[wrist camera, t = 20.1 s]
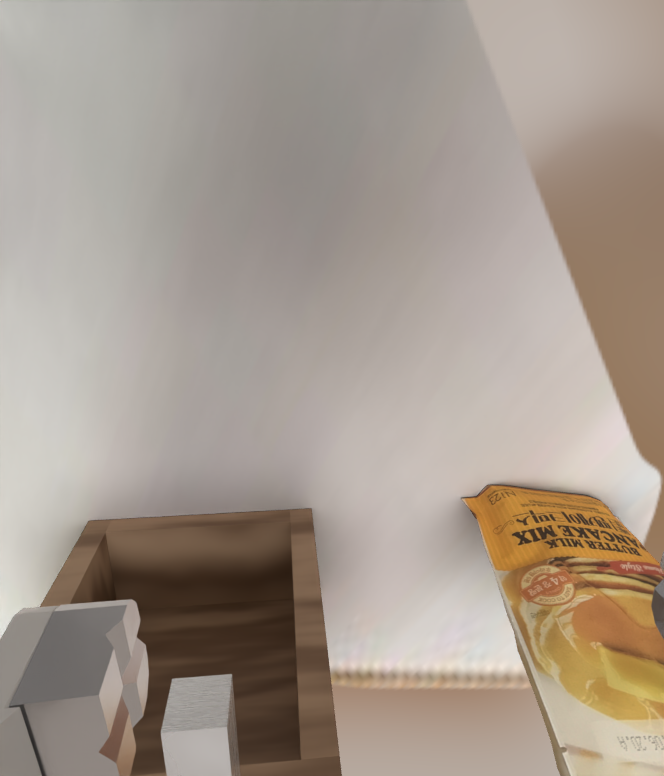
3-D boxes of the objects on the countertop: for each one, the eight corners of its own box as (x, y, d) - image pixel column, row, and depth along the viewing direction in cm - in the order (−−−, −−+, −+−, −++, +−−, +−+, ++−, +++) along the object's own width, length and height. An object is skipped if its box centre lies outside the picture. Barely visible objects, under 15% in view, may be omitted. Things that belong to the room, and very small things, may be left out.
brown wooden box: (88, 520, 49) (-106, 859, 24) (311, 508, 51) (345, 812, 26) (104, 610, 53) (-52, 991, 28) (313, 596, 55) (345, 941, 29)
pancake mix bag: (612, 555, 56) (906, 870, 30) (436, 535, 54) (590, 865, 27) (636, 498, 54) (973, 783, 28) (454, 474, 51) (639, 767, 25)
